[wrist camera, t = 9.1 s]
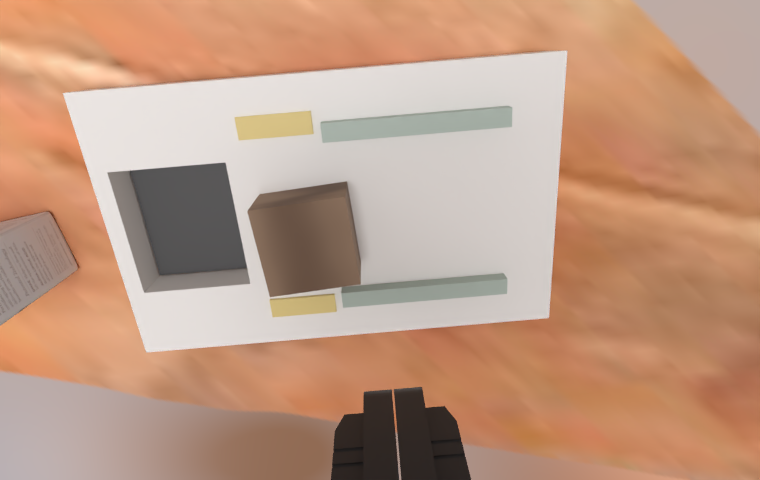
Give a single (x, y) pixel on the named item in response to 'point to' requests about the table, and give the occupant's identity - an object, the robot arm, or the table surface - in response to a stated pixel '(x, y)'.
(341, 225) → the walnut block
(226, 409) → the table surface
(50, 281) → the skincare box
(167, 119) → the board
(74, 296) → the table surface
